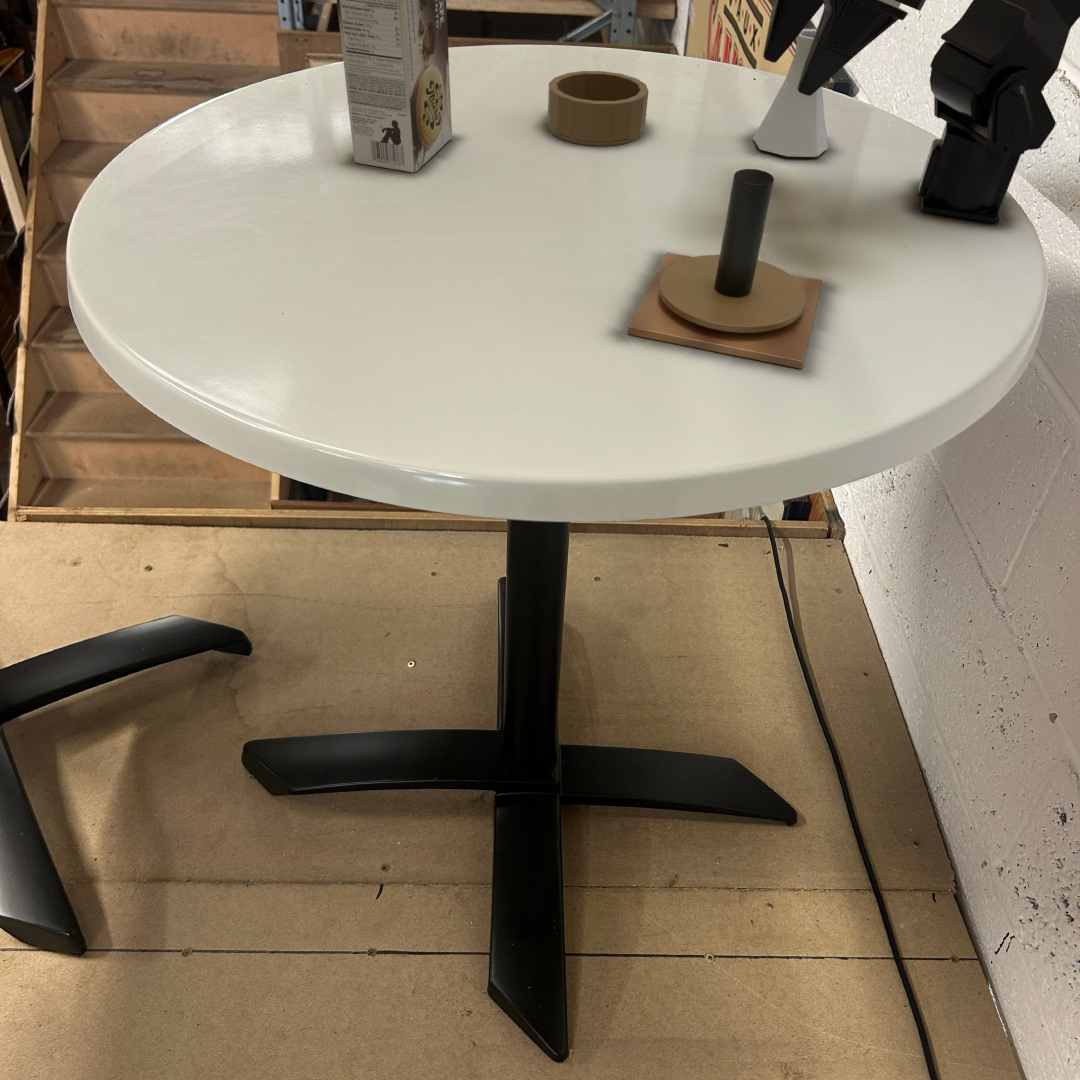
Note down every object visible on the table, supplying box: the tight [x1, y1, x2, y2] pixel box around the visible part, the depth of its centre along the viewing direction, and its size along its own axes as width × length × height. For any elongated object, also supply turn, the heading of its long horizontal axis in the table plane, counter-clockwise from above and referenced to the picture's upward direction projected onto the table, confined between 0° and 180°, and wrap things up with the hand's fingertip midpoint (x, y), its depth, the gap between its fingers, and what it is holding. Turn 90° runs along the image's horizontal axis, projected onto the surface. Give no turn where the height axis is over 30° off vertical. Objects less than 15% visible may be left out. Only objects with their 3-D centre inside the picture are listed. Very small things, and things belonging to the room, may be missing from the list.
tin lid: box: [659, 168, 806, 333], centre depth 63 cm, size 10×10×9 cm
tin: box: [547, 70, 649, 147], centre depth 90 cm, size 10×10×4 cm
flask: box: [753, 28, 829, 158], centre depth 86 cm, size 7×7×10 cm
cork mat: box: [627, 252, 823, 369], centre depth 66 cm, size 12×12×1 cm
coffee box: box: [336, 0, 453, 173], centre depth 80 cm, size 9×6×16 cm
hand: (785, 76), depth 69 cm, fingers open, 9 cm apart
